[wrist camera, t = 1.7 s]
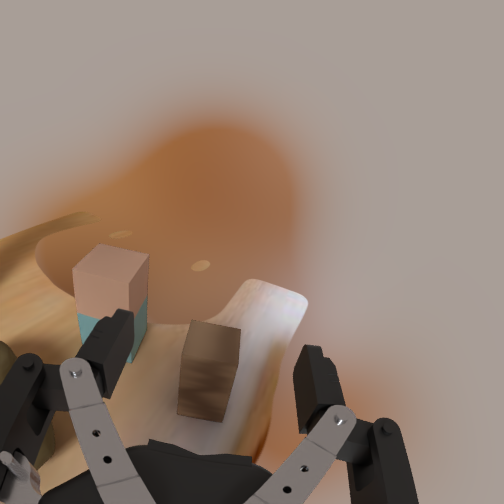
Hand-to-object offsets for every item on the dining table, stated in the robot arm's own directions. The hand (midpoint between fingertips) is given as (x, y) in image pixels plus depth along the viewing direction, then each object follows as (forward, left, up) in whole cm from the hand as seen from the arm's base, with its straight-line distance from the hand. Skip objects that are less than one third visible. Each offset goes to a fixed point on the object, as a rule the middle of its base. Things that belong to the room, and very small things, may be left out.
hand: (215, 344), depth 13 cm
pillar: (0, +11, -20) cm, 23 cm away
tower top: (-13, +18, -14) cm, 26 cm away
